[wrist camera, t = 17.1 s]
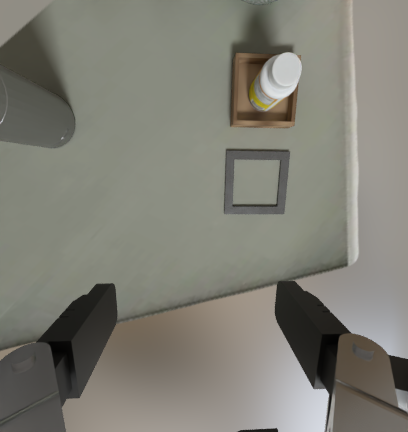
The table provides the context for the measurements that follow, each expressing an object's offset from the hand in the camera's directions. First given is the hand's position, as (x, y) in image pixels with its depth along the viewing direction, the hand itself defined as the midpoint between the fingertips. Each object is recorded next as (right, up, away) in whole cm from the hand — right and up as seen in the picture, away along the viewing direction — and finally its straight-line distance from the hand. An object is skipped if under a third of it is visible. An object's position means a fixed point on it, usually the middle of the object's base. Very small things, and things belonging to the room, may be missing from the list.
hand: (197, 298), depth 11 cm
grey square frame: (+10, +10, +31) cm, 34 cm away
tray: (+11, +26, +28) cm, 39 cm away
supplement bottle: (+11, +25, +27) cm, 39 cm away
